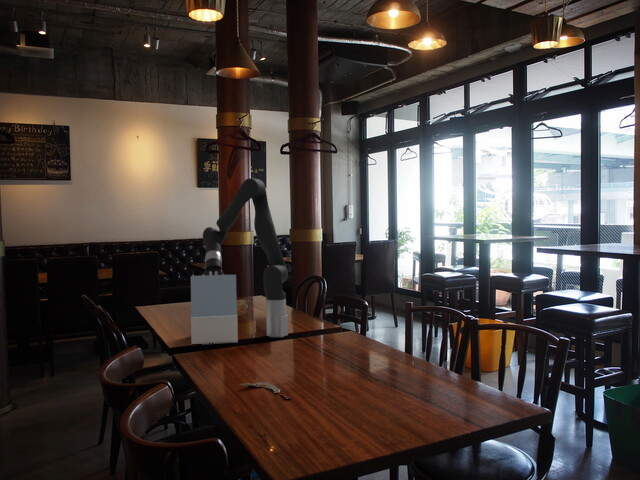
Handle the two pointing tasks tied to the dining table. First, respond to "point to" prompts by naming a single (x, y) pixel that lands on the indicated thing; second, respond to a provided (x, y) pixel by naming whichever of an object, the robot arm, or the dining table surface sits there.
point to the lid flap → (213, 295)
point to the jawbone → (265, 386)
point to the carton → (214, 329)
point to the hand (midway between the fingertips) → (213, 292)
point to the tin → (242, 307)
